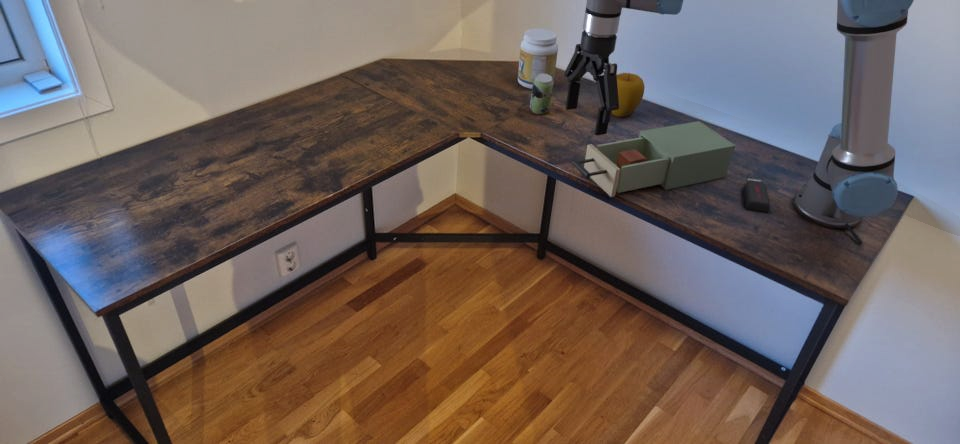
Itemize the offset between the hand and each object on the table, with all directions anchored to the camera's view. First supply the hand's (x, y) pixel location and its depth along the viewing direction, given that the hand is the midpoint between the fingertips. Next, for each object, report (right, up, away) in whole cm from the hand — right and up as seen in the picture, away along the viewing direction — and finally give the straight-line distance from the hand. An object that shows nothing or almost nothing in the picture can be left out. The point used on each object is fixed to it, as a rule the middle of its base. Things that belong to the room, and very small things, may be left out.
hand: (585, 121), depth 153 cm
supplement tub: (-6, +23, +65) cm, 69 cm away
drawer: (+11, -13, +15) cm, 22 cm away
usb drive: (+45, -18, +13) cm, 50 cm away
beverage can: (-7, +10, +47) cm, 49 cm away
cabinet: (+29, -10, +22) cm, 38 cm away
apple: (+19, +10, +49) cm, 53 cm away
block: (+14, -11, +15) cm, 23 cm away
